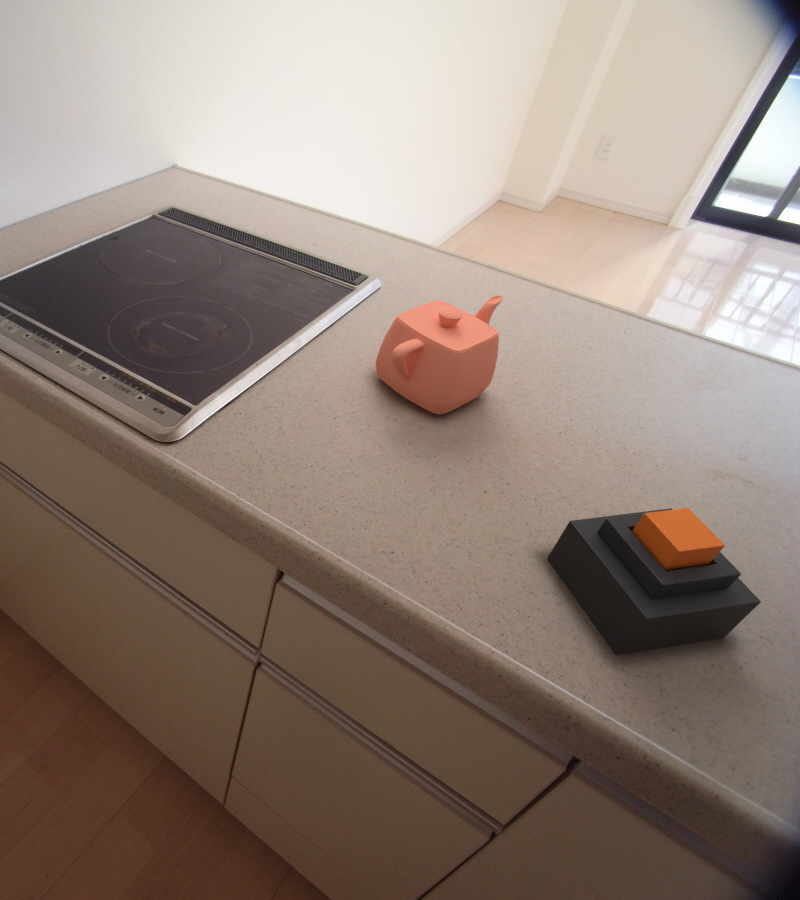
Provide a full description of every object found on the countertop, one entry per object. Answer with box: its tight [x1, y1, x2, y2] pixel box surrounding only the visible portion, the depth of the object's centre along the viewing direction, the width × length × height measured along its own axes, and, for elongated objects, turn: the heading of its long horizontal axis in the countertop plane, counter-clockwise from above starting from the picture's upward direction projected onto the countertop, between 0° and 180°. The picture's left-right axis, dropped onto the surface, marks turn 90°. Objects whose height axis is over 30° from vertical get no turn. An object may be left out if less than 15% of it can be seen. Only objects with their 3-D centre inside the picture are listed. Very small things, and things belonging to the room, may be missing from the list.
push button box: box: [547, 507, 762, 656], centre depth 54 cm, size 10×10×7 cm
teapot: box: [375, 295, 504, 415], centre depth 76 cm, size 12×18×10 cm, turn 125°
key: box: [632, 507, 726, 570], centre depth 51 cm, size 4×4×2 cm
